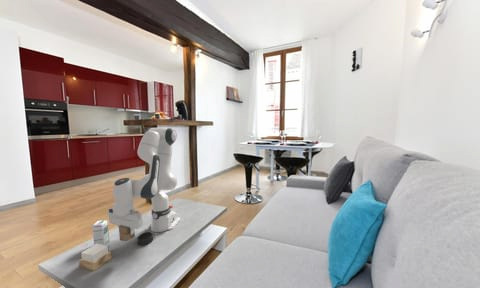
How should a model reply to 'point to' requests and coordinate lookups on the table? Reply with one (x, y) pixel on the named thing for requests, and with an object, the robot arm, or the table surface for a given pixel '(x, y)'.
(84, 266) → the oak base block
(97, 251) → the off-white top block
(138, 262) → the table surface
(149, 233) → the smart speaker
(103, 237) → the syrup box
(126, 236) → the walnut block
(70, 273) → the table surface
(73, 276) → the table surface
